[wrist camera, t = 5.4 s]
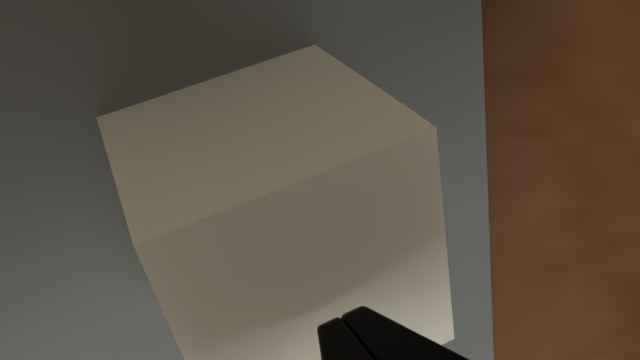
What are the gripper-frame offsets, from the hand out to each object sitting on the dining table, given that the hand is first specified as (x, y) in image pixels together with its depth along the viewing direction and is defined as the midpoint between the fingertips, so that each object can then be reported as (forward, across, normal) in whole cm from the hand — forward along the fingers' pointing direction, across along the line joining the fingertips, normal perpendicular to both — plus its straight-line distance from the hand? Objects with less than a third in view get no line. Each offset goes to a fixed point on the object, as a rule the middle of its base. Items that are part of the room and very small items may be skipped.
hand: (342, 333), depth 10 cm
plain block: (+6, 0, 0) cm, 6 cm away
